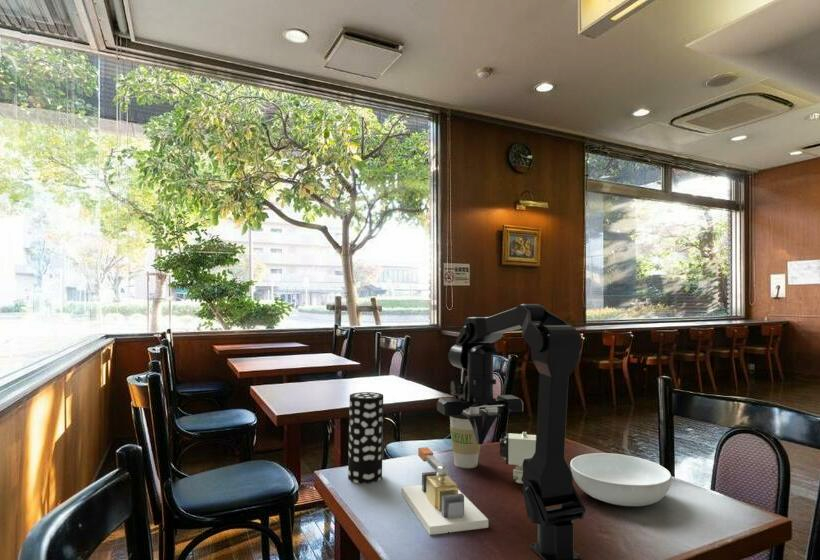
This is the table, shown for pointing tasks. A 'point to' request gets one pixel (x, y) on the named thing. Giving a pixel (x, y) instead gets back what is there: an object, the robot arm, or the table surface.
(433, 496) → the valve pipe run
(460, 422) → the coffee cup
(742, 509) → the table surface
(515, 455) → the pneumatic valve
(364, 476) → the spotted tube
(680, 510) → the table surface
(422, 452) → the valve lever
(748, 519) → the table surface
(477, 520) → the base plate
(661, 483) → the serving bowl
